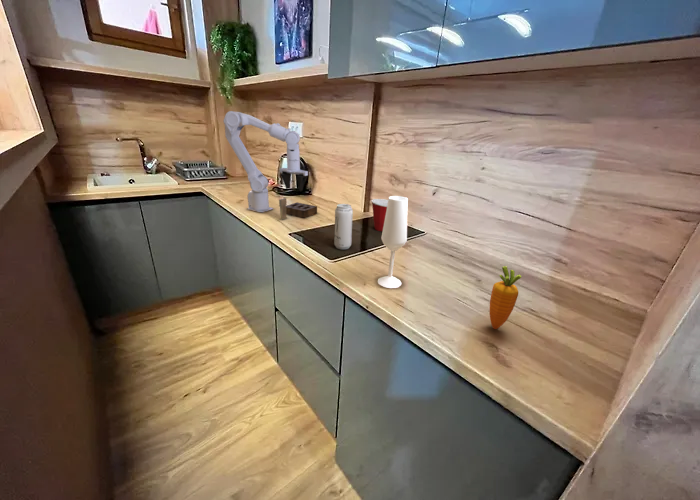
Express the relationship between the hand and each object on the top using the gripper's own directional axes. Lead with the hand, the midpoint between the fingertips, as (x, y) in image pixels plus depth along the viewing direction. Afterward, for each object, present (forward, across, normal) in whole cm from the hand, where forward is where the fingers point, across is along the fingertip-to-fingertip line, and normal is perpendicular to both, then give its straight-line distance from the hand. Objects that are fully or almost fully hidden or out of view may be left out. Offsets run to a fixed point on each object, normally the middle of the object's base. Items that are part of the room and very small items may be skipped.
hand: (294, 189), depth 143 cm
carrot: (+11, +94, -48) cm, 106 cm away
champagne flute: (+11, +66, -41) cm, 78 cm away
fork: (+10, +4, -13) cm, 17 cm away
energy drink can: (+11, +42, -26) cm, 51 cm away
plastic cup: (+11, +46, 0) cm, 47 cm away
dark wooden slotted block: (+10, +5, -2) cm, 12 cm away
